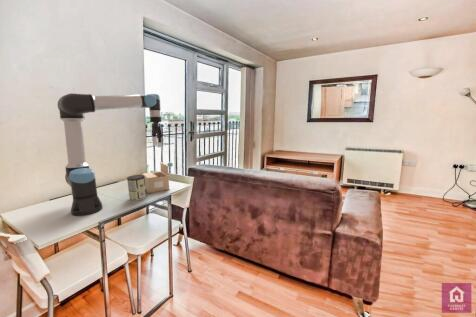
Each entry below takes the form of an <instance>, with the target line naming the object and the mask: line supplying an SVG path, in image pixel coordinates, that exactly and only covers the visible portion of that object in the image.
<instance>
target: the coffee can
mask: <svg viewBox="0 0 476 317" xmlns="http://www.w3.org/2000/svg"><path fill="white" fill-rule="evenodd" d="M144 177H145V176H144V175H142V174H134V175H130V176H128V177H126V180H127V188H128V195H129V200H130V201H141V200H144V199H146V198H147V191H146V188H145V178H144Z"/></svg>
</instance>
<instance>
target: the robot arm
mask: <svg viewBox="0 0 476 317" xmlns="http://www.w3.org/2000/svg"><path fill="white" fill-rule="evenodd" d="M57 108H58V111H59V119H60V120H61V121H63V124H64V125H63V126H64V135H65V144H66V145H65V146H66V154H67V164H66V165H65V166H64V167H65V182H66V183H67V185H69V187H70V188H71V195H72V196H71V197H72V203H71V207H70V213H71V214H70V215H72V216H75V217H76V216H77V217H79V216H80V217H81V216H86V215H91V214H94V213H97V212H99V211H101V210H103V209H104V208H103V203H102V201H101V199H100V197H99V195H98V190H97V189H98V188H97V183H96V173H95V171H94V170H93V169H92V168H90V165H89V164H88V163H87V161H86V150H85V142H84V140H85V139H84V130H83V121H84V120H85V117H86V116H85V114H88V113H89V114H90V113H96V111H101V110H102V111H104V110H121V109H132V108H135V109H136V108H137V109H138V108H146V109H147V108H148V109H149V116H150V117H149V122H150V123H151V136H152V137H151V138H152V146H155V147H156V146H157V148H162V147H163V142H162V138H163V133H162V127H161V122H162V110H161V96H160V94H159V93H149V94H148V93H147V94H127V95H126V94H125V95H124V94H121V95H117V94H116V95H93V94H90V93H88V94H87V93H72V92H71V93H67V94H65V95H62V96H61V97H59V99H58V102H57Z"/></svg>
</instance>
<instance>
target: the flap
mask: <svg viewBox="0 0 476 317" xmlns="http://www.w3.org/2000/svg"><path fill="white" fill-rule="evenodd" d="M173 164H174V163H173V162H171V161H169V162H168V163H164V162H162V161H160V172H162V173H164V174H166V175H167V176H169V173H170V172H169V168H172V167H173Z"/></svg>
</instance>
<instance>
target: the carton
mask: <svg viewBox="0 0 476 317" xmlns="http://www.w3.org/2000/svg"><path fill="white" fill-rule="evenodd" d="M141 175H144V176H145V177H144V178H145V188H146V193H148V194H153V193H159V192H164V191H163V190H165V191H169V190H170V183H169V182H170V180H169V175H166V174H165V173H163V172H162V171H158V172H157V171H156V172H152V171H150V172H144V173H142V174H141Z"/></svg>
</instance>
